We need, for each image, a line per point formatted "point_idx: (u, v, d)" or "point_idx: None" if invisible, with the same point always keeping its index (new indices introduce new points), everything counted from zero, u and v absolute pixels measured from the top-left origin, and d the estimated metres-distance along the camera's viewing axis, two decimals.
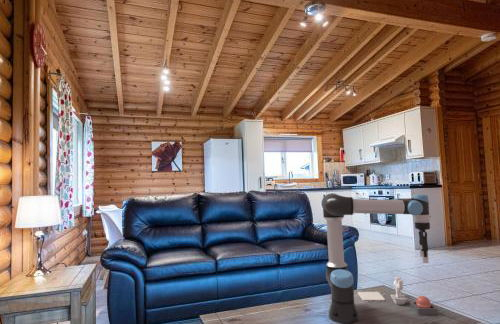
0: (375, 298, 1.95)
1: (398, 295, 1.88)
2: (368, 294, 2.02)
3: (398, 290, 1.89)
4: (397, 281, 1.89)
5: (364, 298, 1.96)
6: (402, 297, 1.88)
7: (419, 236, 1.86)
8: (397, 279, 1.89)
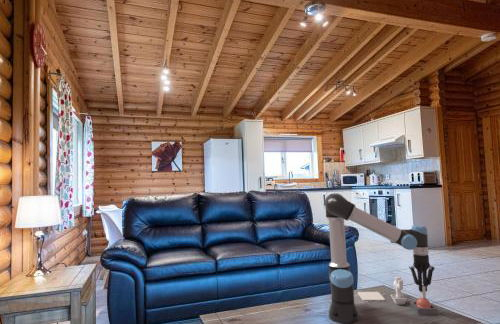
0: (375, 298, 1.95)
1: (398, 295, 1.88)
2: (368, 294, 2.02)
3: (398, 290, 1.89)
4: (397, 281, 1.89)
5: (364, 298, 1.96)
6: (402, 297, 1.88)
7: None
8: (397, 279, 1.89)
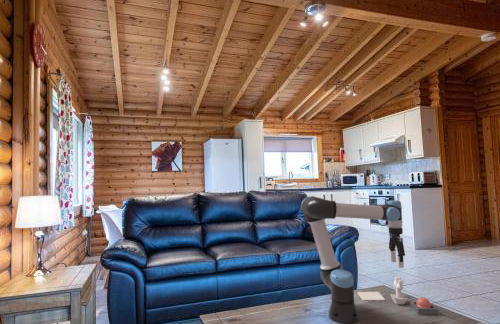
0: (375, 298, 1.95)
1: (398, 295, 1.88)
2: (368, 294, 2.02)
3: (398, 290, 1.89)
4: (397, 281, 1.89)
5: (364, 298, 1.96)
6: (402, 297, 1.88)
7: (392, 241, 1.93)
8: (397, 279, 1.89)
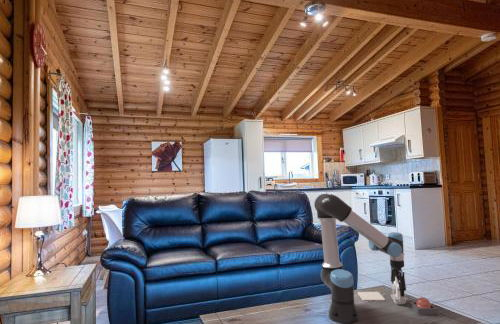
0: (375, 298, 1.95)
1: (398, 295, 1.88)
2: (368, 294, 2.02)
3: (398, 290, 1.88)
4: (397, 281, 1.89)
5: (364, 298, 1.96)
6: None
7: (393, 274, 1.92)
8: (397, 279, 1.89)
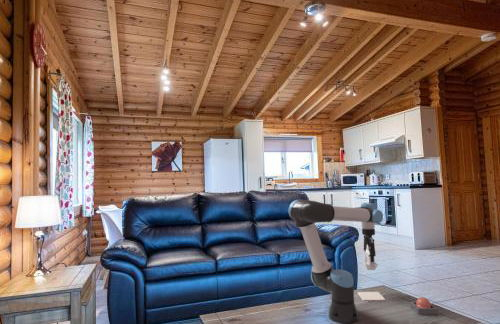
0: (375, 298, 1.95)
1: (369, 261, 2.00)
2: (368, 294, 2.02)
3: None
4: (368, 248, 2.00)
5: (364, 298, 1.96)
6: None
7: (365, 242, 2.03)
8: None
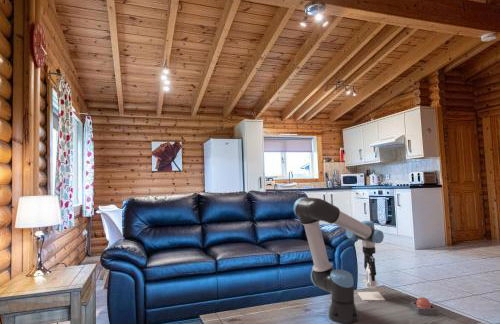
0: (375, 298, 1.95)
1: None
2: (368, 294, 2.02)
3: None
4: None
5: (364, 298, 1.96)
6: None
7: (366, 260, 2.03)
8: None
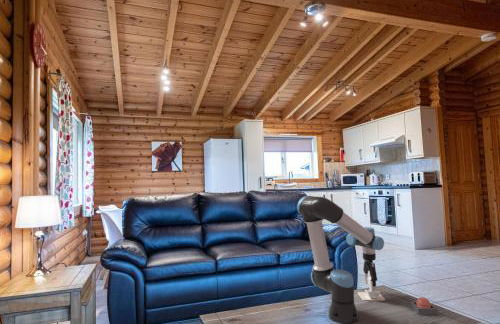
0: (375, 298, 1.95)
1: None
2: None
3: None
4: (370, 275, 1.98)
5: (364, 298, 1.96)
6: None
7: (365, 266, 2.03)
8: None
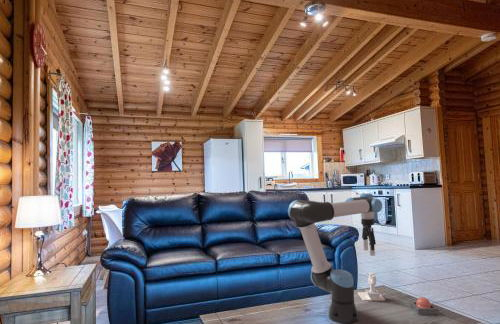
0: None
1: (372, 290, 1.96)
2: None
3: (372, 285, 1.96)
4: (371, 277, 1.96)
5: (364, 298, 1.96)
6: (375, 292, 1.95)
7: (364, 231, 2.04)
8: (371, 275, 1.96)
